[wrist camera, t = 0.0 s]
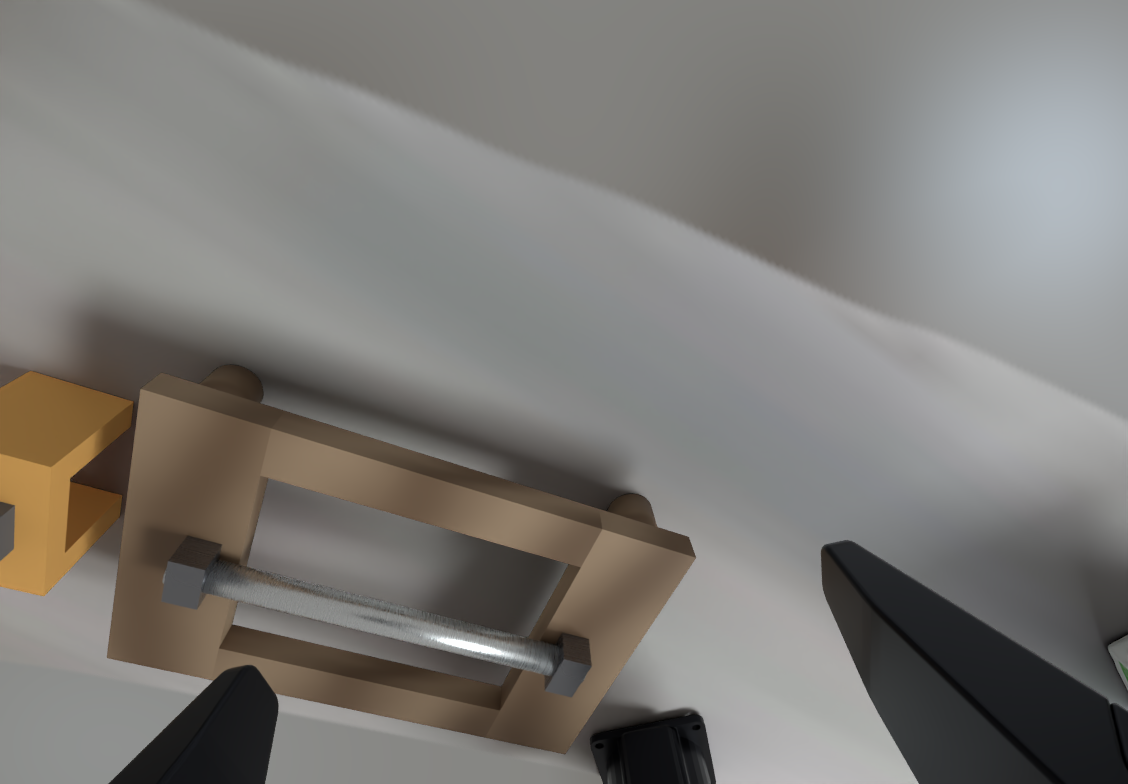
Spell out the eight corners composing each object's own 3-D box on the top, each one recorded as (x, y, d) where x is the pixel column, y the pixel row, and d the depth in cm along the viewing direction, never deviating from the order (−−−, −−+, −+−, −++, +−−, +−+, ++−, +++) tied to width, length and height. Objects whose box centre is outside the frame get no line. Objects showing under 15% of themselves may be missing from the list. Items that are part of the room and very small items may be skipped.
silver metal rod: (590, 637, 25) (593, 666, 24) (572, 668, 26) (574, 698, 25) (185, 532, 21) (164, 560, 20) (178, 572, 22) (157, 601, 21)
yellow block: (133, 401, 23) (-27, 528, 17) (119, 516, 26) (-25, 668, 19) (30, 370, 22) (-181, 491, 16) (25, 492, 25) (-159, 641, 18)
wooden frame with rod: (674, 496, 27) (696, 557, 23) (561, 681, 32) (565, 754, 28) (201, 341, 22) (140, 388, 19) (160, 585, 27) (106, 657, 24)
